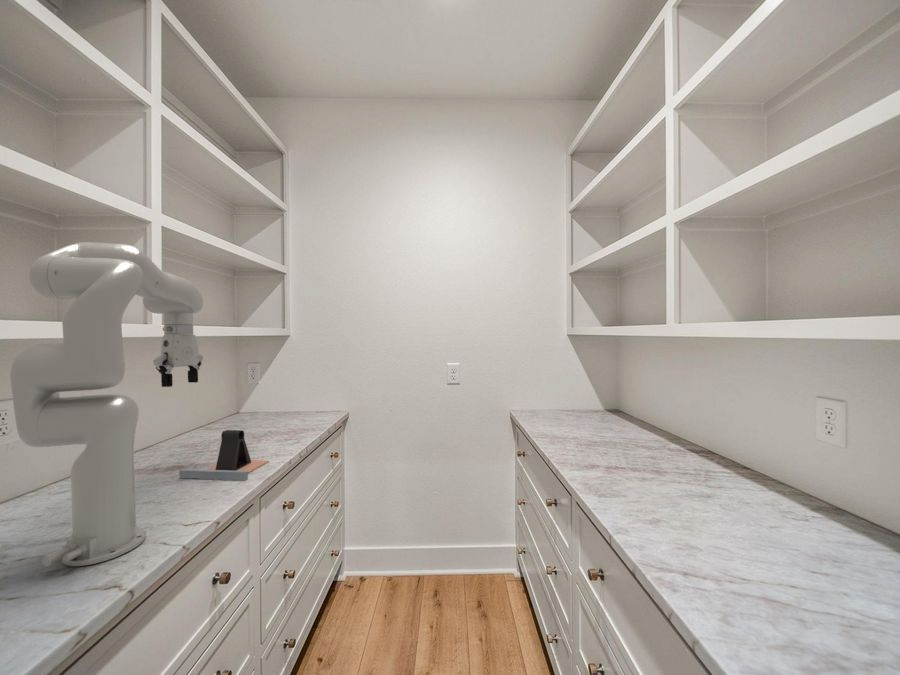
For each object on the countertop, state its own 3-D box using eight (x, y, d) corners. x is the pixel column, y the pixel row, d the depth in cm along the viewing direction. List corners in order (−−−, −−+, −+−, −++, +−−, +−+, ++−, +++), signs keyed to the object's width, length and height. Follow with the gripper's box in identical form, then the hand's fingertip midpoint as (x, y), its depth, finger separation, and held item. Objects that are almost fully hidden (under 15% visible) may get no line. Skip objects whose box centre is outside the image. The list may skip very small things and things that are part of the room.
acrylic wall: (245, 480, 111) (244, 472, 111) (179, 478, 114) (179, 470, 114) (247, 479, 112) (247, 471, 112) (182, 476, 115) (182, 468, 115)
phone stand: (232, 472, 117) (231, 434, 117) (215, 471, 118) (213, 434, 118) (251, 462, 126) (250, 427, 126) (235, 462, 127) (234, 427, 126)
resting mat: (243, 476, 114) (242, 475, 114) (196, 474, 116) (196, 473, 116) (268, 461, 127) (268, 460, 127) (226, 460, 129) (226, 459, 129)
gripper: (165, 330, 109) (167, 388, 109) (210, 330, 126) (212, 380, 126) (142, 331, 110) (144, 388, 110) (190, 331, 127) (192, 380, 127)
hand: (180, 384), depth 118 cm, fingers open, 9 cm apart
